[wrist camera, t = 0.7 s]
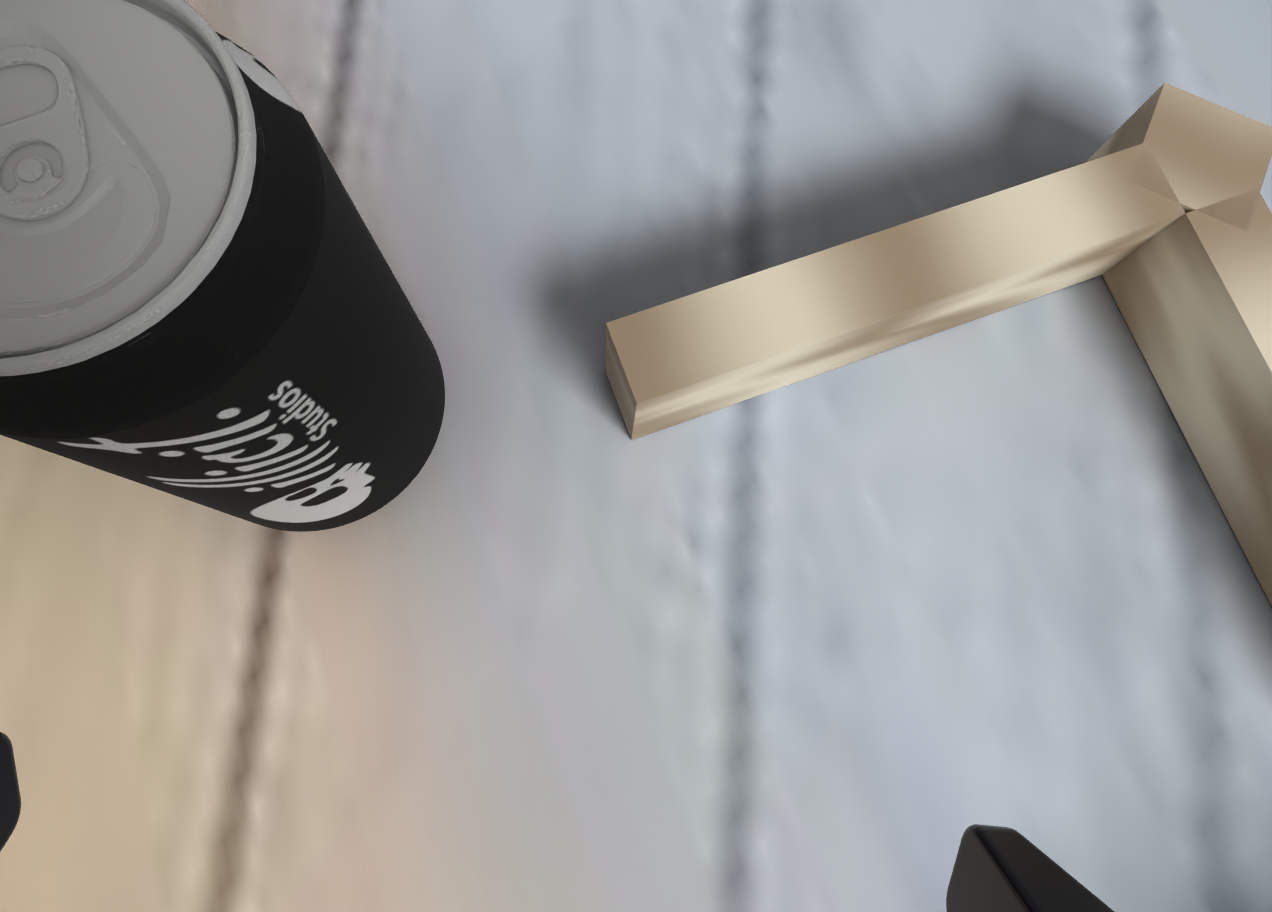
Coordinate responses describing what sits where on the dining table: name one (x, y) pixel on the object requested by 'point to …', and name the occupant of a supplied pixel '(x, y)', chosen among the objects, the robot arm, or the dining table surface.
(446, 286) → the dining table surface
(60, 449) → the beverage can
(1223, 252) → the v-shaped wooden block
